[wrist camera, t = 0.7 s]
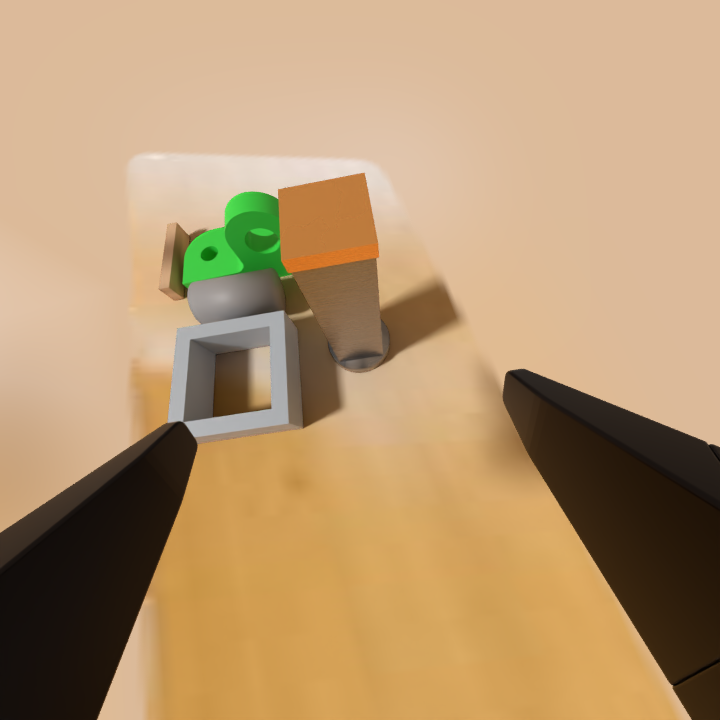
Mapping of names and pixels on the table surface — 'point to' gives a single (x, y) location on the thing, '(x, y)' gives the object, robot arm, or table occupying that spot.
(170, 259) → the bay rails
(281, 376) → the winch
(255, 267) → the mechanical part
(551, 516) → the table surface
